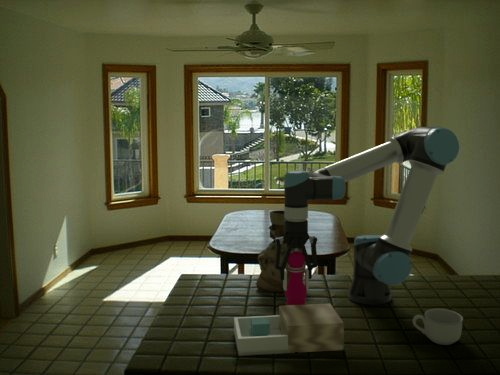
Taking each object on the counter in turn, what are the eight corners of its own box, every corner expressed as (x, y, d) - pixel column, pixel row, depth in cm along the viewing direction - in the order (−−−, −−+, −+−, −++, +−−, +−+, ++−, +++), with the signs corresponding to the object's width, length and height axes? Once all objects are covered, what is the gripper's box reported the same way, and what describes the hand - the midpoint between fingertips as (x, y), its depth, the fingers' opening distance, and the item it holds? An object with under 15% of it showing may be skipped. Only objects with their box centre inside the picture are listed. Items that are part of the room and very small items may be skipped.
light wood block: (329, 327, 172) (329, 303, 171) (343, 349, 156) (343, 323, 155) (279, 330, 170) (279, 305, 169) (288, 353, 154) (287, 325, 153)
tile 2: (267, 326, 163) (267, 317, 163) (269, 333, 158) (269, 323, 158) (250, 327, 163) (250, 318, 162) (252, 334, 158) (252, 324, 157)
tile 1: (249, 327, 163) (249, 336, 164) (251, 333, 158) (251, 343, 159) (265, 326, 164) (265, 335, 164) (268, 332, 159) (268, 342, 159)
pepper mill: (305, 311, 175) (305, 249, 172) (283, 309, 176) (283, 248, 174) (307, 303, 182) (308, 244, 179) (286, 301, 183) (286, 243, 181)
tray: (279, 330, 170) (279, 315, 170) (288, 353, 154) (287, 336, 154) (234, 332, 169) (233, 317, 168) (238, 355, 153) (238, 338, 152)
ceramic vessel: (241, 288, 211) (240, 211, 207) (283, 277, 224) (283, 205, 220) (273, 301, 196) (272, 219, 192) (316, 289, 209) (316, 212, 205)
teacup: (461, 336, 165) (462, 310, 164) (462, 351, 155) (463, 323, 154) (413, 330, 169) (413, 305, 168) (411, 344, 159) (412, 318, 158)
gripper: (323, 216, 180) (322, 284, 183) (264, 217, 178) (264, 286, 181) (328, 220, 172) (327, 291, 176) (267, 222, 170) (267, 293, 174)
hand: (295, 288), depth 178 cm, fingers closed on pepper mill, 6 cm apart
